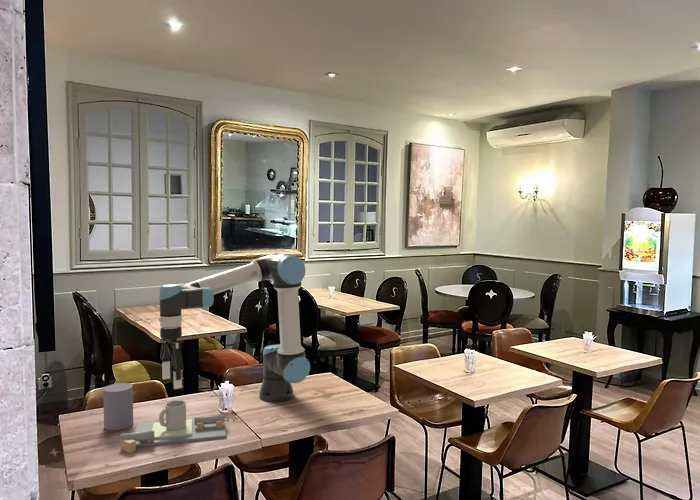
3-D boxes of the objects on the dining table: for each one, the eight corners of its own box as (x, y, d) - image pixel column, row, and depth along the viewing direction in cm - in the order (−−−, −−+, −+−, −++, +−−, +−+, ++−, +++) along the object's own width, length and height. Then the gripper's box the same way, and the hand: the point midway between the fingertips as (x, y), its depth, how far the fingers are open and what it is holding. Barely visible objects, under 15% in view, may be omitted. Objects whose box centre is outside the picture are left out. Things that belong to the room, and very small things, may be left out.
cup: (189, 427, 199) (189, 403, 199) (163, 434, 193) (163, 410, 192) (180, 421, 205) (180, 398, 204) (155, 428, 198) (154, 405, 197)
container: (103, 432, 198) (102, 393, 197) (104, 422, 208) (103, 385, 207) (133, 428, 202) (133, 389, 201) (133, 419, 212) (132, 381, 211)
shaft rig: (223, 417, 214) (223, 405, 213) (226, 442, 190) (226, 429, 190) (127, 426, 204) (127, 413, 204) (118, 454, 181) (118, 439, 180)
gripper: (150, 322, 204) (151, 376, 206) (171, 334, 184) (172, 394, 185) (170, 319, 209) (171, 373, 210) (192, 331, 188) (193, 390, 190)
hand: (171, 383), depth 198 cm, fingers open, 13 cm apart
